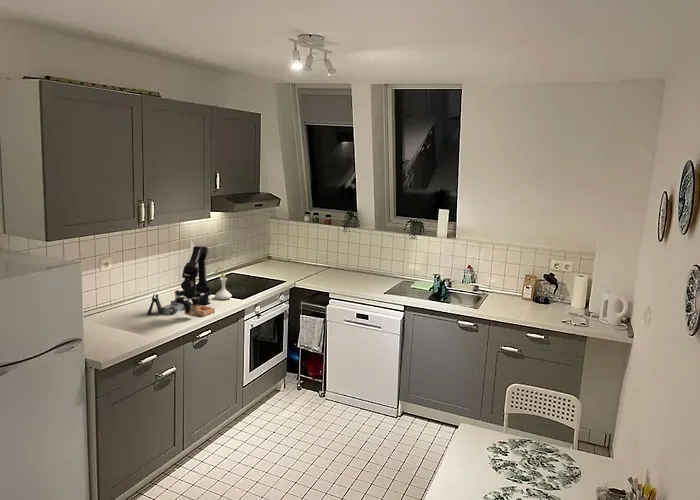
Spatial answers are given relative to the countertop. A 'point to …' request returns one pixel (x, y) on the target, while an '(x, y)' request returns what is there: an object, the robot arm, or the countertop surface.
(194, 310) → the taped cardboard box
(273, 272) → the countertop surface
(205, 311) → the open tan box
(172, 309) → the dolly
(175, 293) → the pin
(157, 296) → the phone stand
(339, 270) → the countertop surface
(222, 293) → the flower in vase
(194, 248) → the robot arm
